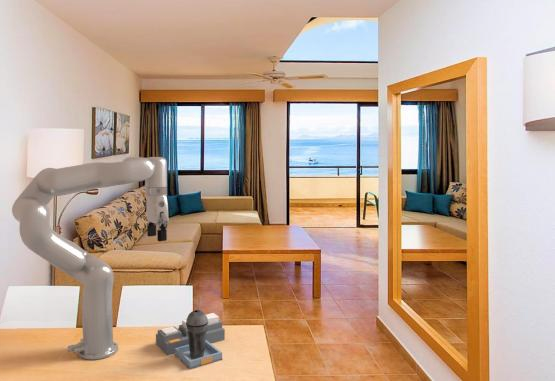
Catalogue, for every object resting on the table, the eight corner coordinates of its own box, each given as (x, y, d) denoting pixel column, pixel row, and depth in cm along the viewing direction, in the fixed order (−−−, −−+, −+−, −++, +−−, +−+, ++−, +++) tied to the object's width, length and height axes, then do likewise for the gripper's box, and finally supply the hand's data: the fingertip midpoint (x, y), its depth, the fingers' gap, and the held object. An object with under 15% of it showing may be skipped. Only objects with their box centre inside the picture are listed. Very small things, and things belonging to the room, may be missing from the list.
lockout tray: (190, 369, 148) (190, 362, 147) (174, 355, 157) (174, 348, 157) (222, 359, 154) (222, 352, 154) (205, 346, 164) (205, 339, 163)
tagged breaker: (166, 340, 159) (166, 333, 159) (161, 335, 162) (161, 329, 162) (178, 337, 161) (178, 330, 161) (172, 332, 165) (172, 326, 165)
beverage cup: (181, 355, 155) (181, 297, 153) (199, 348, 161) (199, 292, 158) (194, 363, 150) (194, 303, 148) (212, 355, 156) (212, 297, 154)
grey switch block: (167, 355, 157) (166, 332, 156) (155, 344, 165) (155, 323, 164) (224, 339, 170) (224, 318, 169) (211, 330, 178) (211, 310, 177)
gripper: (175, 193, 163) (176, 241, 165) (157, 188, 177) (157, 233, 178) (155, 194, 158) (155, 244, 160) (137, 189, 172) (138, 235, 174)
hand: (156, 238), depth 169 cm, fingers open, 9 cm apart
